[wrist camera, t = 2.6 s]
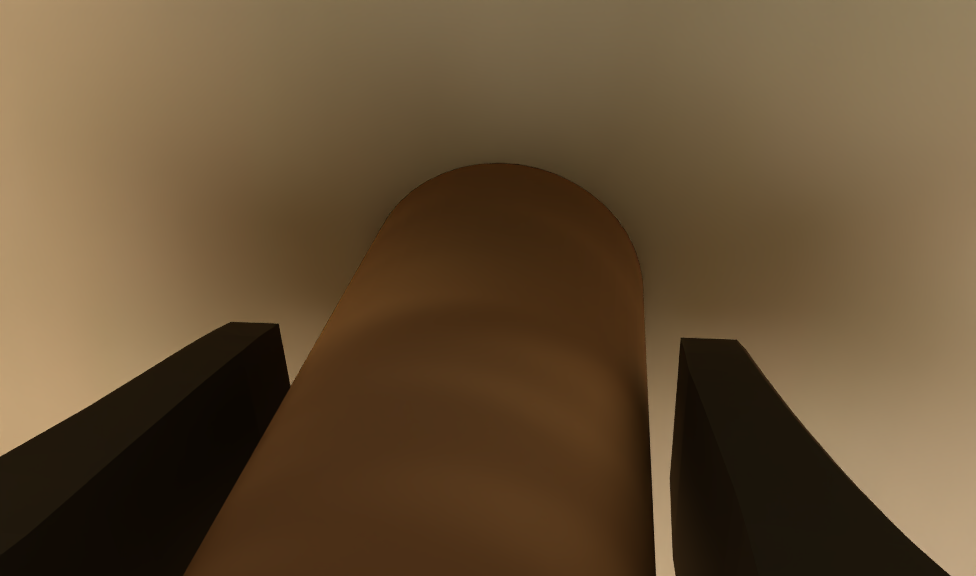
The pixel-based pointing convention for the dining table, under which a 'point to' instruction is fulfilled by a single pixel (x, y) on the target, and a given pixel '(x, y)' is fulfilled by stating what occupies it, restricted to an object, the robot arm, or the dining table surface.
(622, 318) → the peg
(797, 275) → the dining table surface
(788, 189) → the dining table surface
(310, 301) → the dining table surface
